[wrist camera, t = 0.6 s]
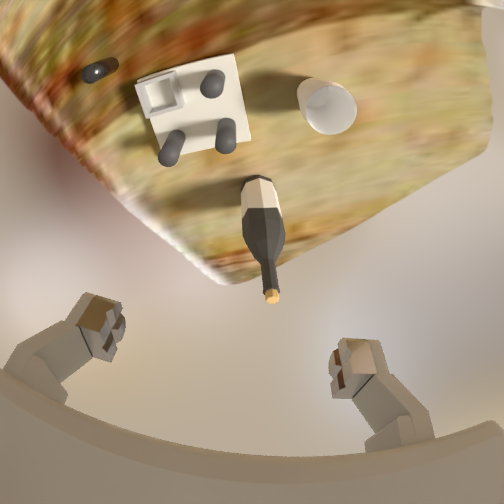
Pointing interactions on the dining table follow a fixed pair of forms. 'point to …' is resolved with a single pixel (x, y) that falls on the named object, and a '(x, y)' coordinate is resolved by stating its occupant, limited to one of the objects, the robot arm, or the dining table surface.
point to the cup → (326, 105)
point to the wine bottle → (263, 229)
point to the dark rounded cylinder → (99, 70)
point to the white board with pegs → (195, 107)
